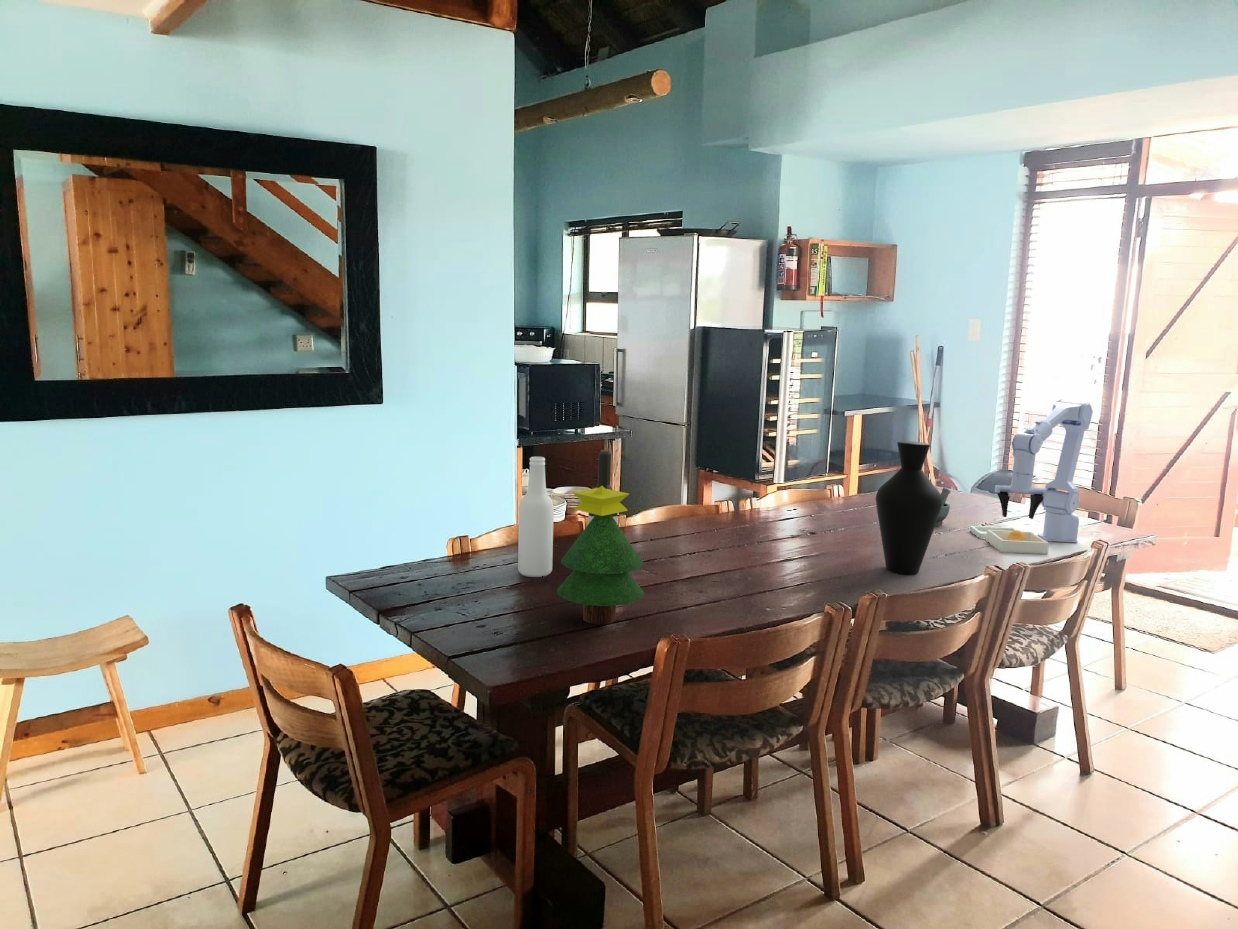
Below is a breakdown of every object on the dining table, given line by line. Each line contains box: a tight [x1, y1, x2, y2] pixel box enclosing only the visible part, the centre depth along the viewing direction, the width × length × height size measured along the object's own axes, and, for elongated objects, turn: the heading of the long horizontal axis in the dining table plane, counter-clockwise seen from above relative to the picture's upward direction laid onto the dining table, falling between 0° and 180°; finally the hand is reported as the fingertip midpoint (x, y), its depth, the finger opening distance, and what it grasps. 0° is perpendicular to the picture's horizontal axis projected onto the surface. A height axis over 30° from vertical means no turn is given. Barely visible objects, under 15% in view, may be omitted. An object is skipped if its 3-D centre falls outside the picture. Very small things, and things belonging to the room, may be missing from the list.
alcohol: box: [517, 456, 555, 578], centre depth 241 cm, size 9×9×30 cm
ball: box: [1008, 529, 1026, 541], centre depth 287 cm, size 5×5×5 cm
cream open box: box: [985, 530, 1050, 555], centre depth 288 cm, size 14×14×4 cm
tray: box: [969, 525, 1018, 540], centre depth 302 cm, size 14×10×2 cm
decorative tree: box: [556, 486, 645, 625], centre depth 207 cm, size 19×19×30 cm
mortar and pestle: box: [935, 487, 951, 527], centre depth 315 cm, size 11×9×12 cm
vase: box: [875, 440, 942, 576], centre depth 255 cm, size 17×17×35 cm
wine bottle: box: [587, 449, 619, 525], centre depth 256 cm, size 8×8×30 cm
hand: (1017, 517), depth 286 cm, fingers open, 7 cm apart
